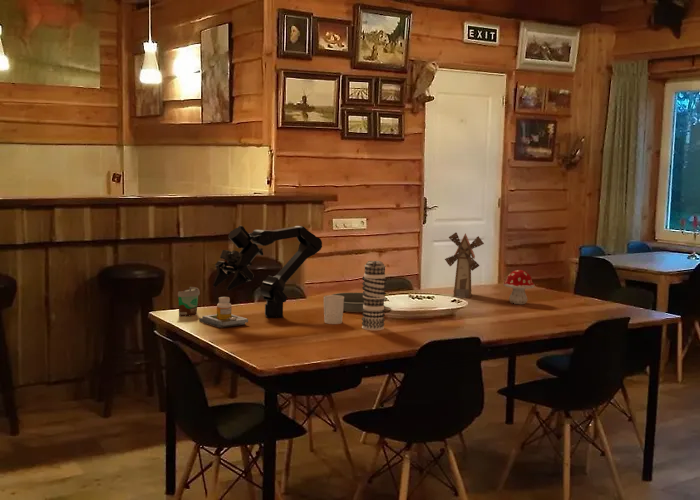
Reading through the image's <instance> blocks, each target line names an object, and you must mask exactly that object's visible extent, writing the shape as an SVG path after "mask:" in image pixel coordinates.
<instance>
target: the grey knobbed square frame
mask: <svg viewBox="0 0 700 500" xmlns="http://www.w3.org/2000/svg"><path fill="white" fill-rule="evenodd" d="M198 319H199V323H200V322H201V323H203V324H205V325H210V326H213V327H216V328H219V329H223V328H230V327H235V326H243V325H246V323H248V322H249V318H246V317H244V316H239V315H236V314H233V313H231V317H229V319H225V320H219V319H217V313H215V314H207V315H202V317H200V318H198Z"/></svg>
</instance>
